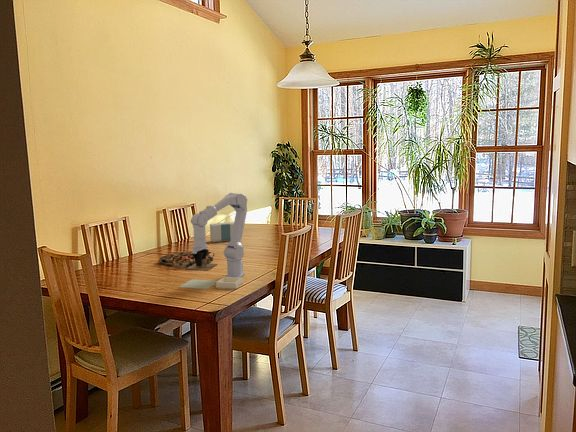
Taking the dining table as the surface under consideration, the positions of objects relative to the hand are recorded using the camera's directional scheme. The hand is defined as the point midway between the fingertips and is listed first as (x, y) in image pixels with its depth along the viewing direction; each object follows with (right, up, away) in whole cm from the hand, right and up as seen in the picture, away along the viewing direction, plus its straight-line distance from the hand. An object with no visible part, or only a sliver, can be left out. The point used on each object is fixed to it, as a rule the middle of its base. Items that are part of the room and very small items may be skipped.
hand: (200, 265), depth 241 cm
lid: (0, -1, 0) cm, 1 cm away
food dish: (-17, -4, +53) cm, 56 cm away
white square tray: (+15, -10, -2) cm, 18 cm away
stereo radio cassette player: (-4, +6, +120) cm, 120 cm away
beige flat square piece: (-1, -10, +2) cm, 10 cm away
